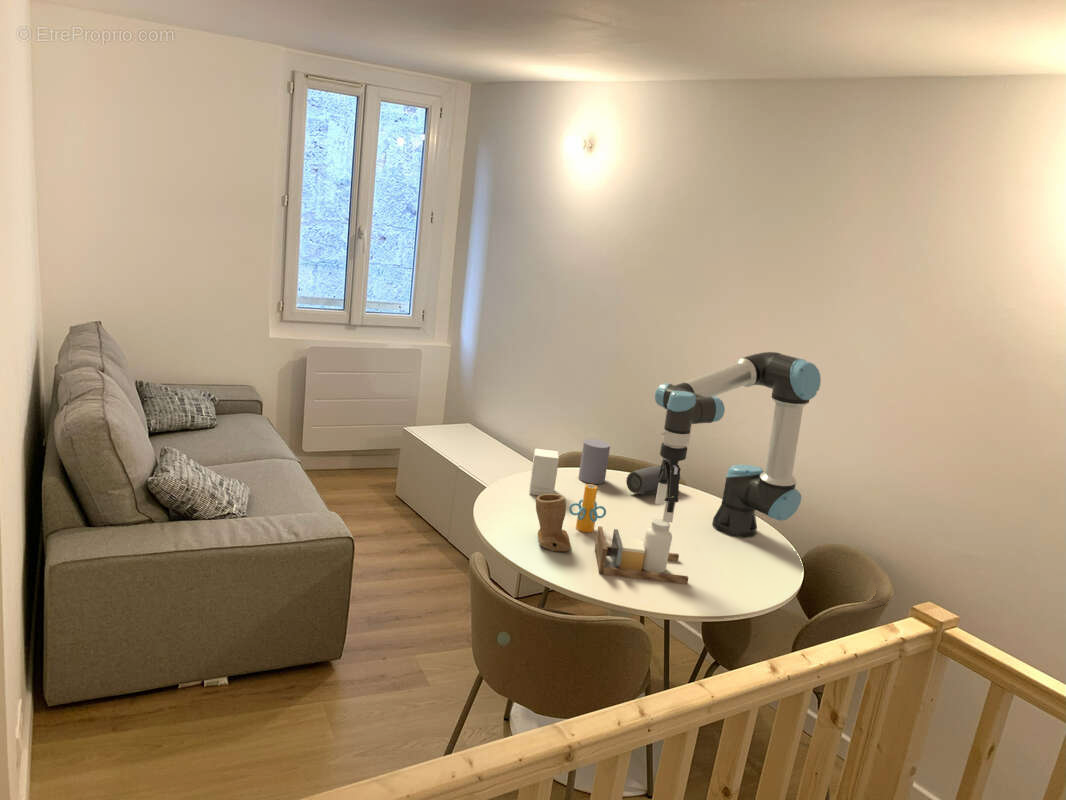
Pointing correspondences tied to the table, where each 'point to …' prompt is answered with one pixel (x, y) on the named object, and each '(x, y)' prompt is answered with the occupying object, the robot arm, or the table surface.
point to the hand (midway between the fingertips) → (663, 512)
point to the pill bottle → (657, 546)
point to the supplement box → (544, 472)
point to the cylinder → (587, 510)
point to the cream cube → (632, 554)
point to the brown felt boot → (552, 522)
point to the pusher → (616, 549)
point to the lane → (601, 553)
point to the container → (594, 461)
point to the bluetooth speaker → (644, 480)
